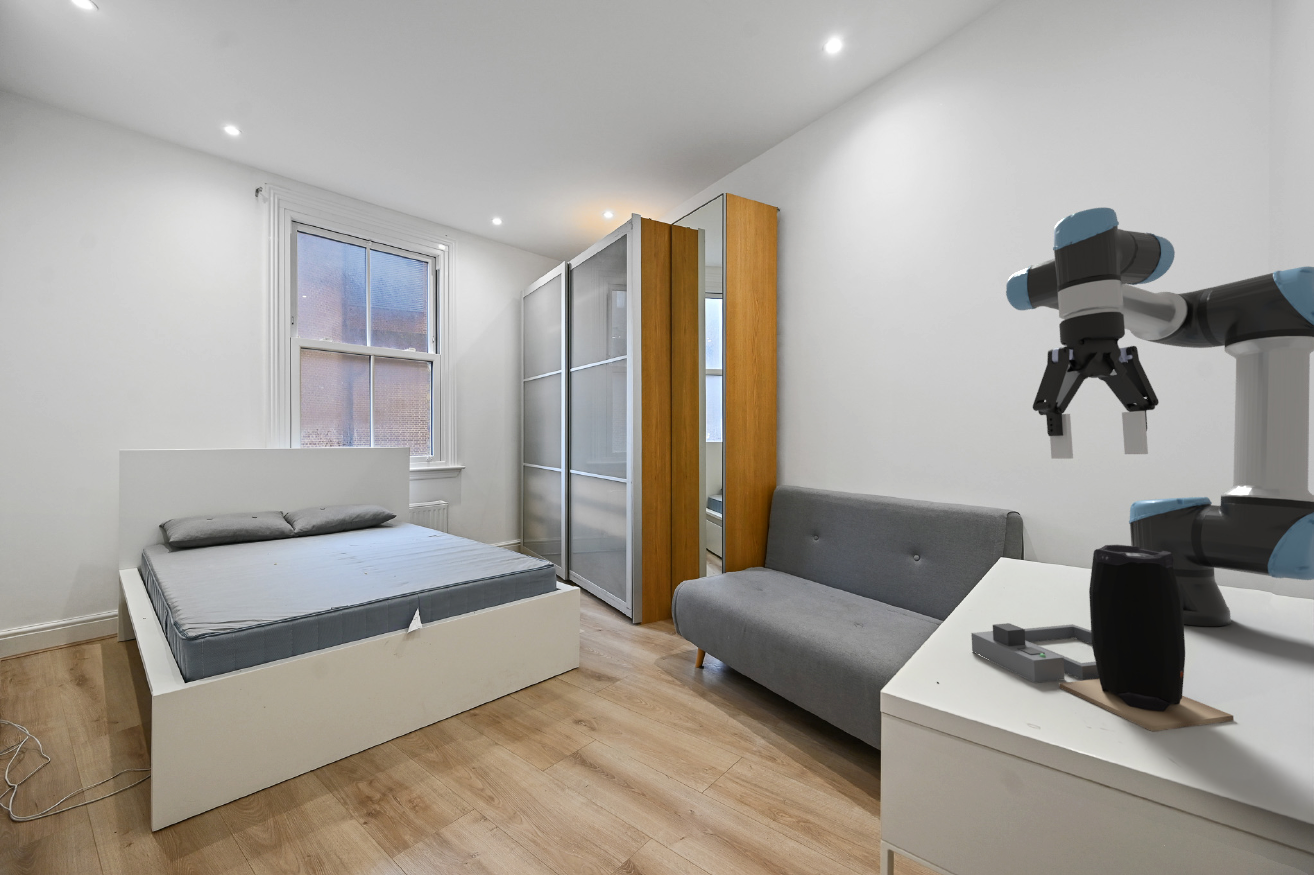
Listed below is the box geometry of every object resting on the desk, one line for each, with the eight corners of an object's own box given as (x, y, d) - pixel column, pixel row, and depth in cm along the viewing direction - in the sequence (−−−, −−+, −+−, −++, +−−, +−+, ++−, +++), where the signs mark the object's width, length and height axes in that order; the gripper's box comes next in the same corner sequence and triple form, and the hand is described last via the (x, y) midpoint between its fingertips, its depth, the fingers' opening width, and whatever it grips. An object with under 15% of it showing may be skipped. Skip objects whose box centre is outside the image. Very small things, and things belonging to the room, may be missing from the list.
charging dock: (1073, 635, 94) (1072, 624, 94) (1170, 670, 79) (1169, 657, 79) (981, 644, 91) (981, 632, 91) (1064, 682, 76) (1063, 668, 76)
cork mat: (1130, 679, 76) (1130, 675, 76) (1233, 720, 64) (1233, 715, 64) (1059, 687, 74) (1059, 683, 74) (1152, 731, 62) (1151, 726, 62)
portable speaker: (1207, 711, 65) (1198, 554, 66) (1138, 716, 65) (1130, 557, 65) (1139, 681, 74) (1131, 542, 74) (1077, 686, 73) (1070, 545, 74)
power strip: (998, 649, 88) (997, 616, 89) (1064, 679, 77) (1062, 640, 77) (972, 652, 88) (970, 618, 88) (1034, 682, 76) (1032, 643, 76)
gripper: (1130, 322, 85) (1139, 452, 85) (999, 322, 80) (1007, 460, 80) (1184, 309, 78) (1194, 452, 77) (1043, 308, 73) (1053, 460, 73)
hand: (1099, 456), depth 79 cm, fingers open, 13 cm apart
